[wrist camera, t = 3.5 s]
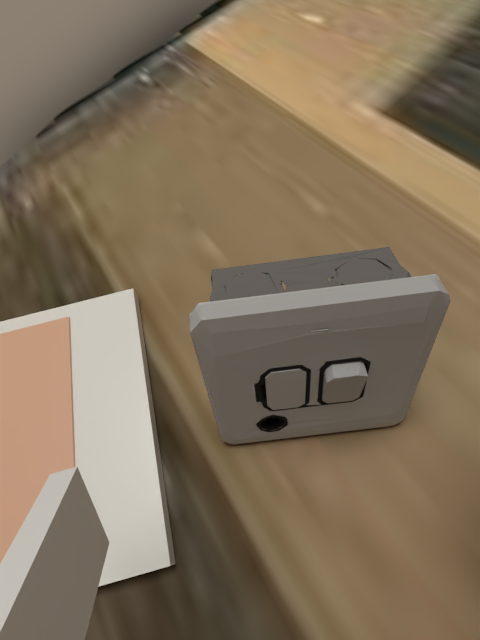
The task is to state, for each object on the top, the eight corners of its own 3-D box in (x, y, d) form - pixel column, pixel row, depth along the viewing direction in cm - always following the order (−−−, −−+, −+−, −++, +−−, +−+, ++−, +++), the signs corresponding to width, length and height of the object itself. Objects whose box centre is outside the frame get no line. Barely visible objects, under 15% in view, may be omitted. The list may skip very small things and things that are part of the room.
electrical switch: (221, 447, 20) (185, 367, 12) (216, 360, 23) (184, 250, 15) (402, 427, 20) (480, 331, 12) (373, 341, 23) (422, 220, 15)
